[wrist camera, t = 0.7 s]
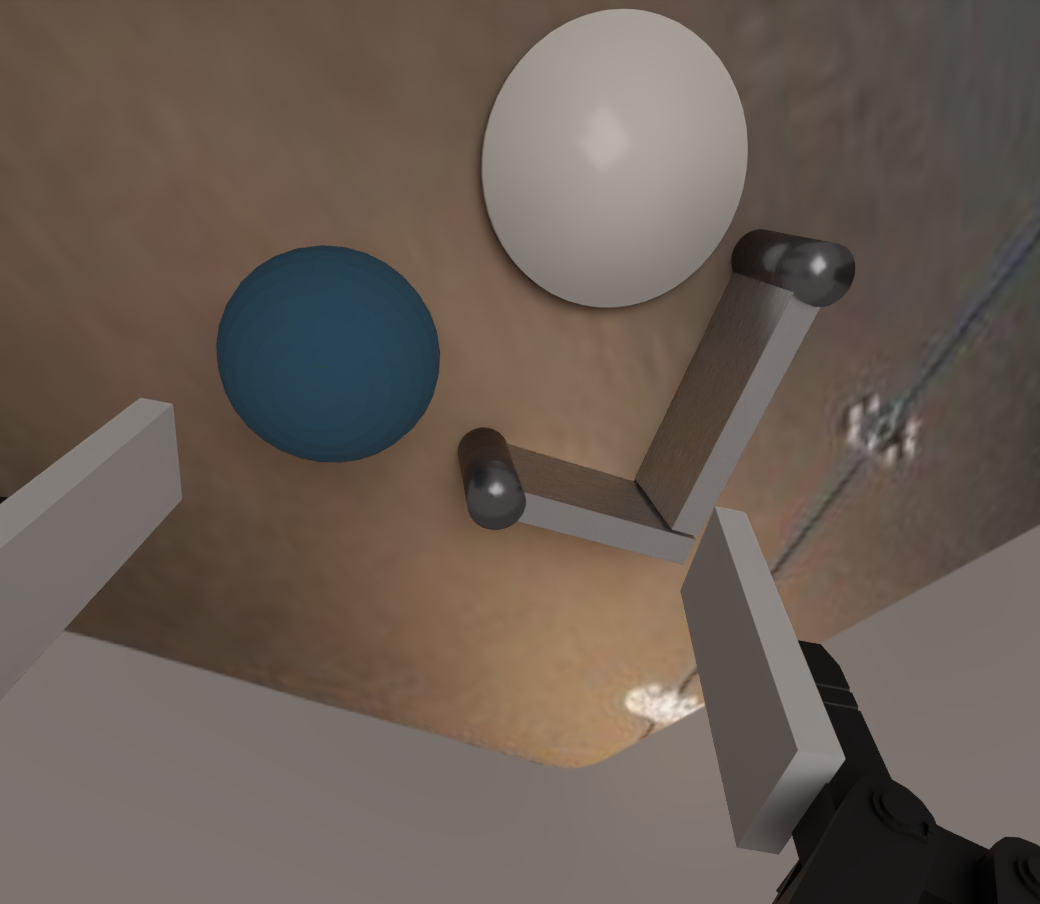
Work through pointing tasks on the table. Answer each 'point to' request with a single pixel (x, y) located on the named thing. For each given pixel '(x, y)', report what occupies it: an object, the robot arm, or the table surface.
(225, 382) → the dark blue rounded piece
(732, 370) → the bent rail
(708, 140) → the coaster
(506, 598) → the table surface
